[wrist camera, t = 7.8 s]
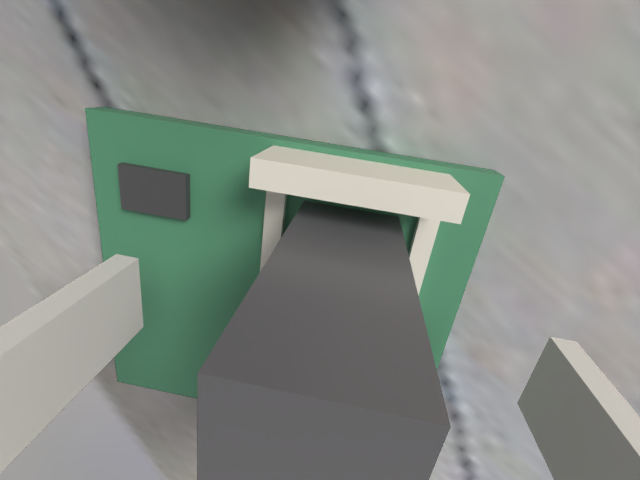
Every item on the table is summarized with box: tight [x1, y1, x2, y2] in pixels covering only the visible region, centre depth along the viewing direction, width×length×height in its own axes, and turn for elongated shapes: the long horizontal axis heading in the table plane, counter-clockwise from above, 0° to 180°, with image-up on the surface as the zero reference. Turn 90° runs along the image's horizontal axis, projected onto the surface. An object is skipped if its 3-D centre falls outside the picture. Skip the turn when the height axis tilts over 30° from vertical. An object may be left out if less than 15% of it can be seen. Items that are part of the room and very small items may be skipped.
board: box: [85, 107, 505, 399], centre depth 16 cm, size 15×17×4 cm
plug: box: [197, 200, 450, 480], centre depth 11 cm, size 7×4×10 cm, turn 172°
